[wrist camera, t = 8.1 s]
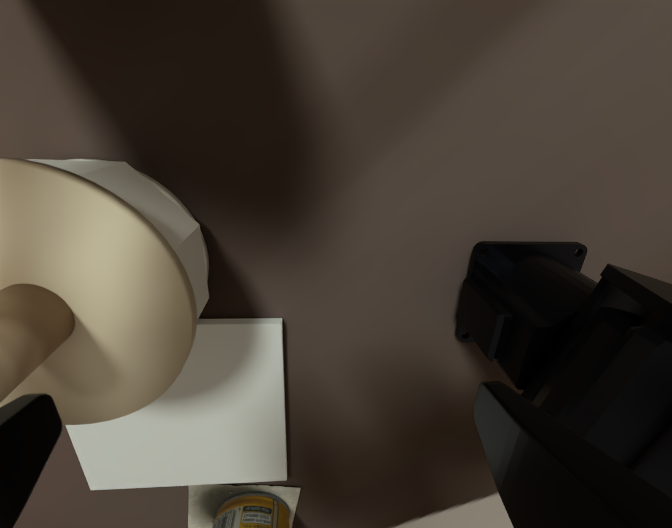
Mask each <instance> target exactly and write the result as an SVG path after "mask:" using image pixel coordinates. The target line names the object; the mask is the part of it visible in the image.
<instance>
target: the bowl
mask: <svg viewBox="0 0 672 528" xmlns="http://www.w3.org/2000/svg"><path fill="white" fill-rule="evenodd" d="M26 160H30V161H35V162H39V163H44V164H48V165H51V166H55V167H58V168H61V169H64V170H67V171H70V172H73V173H75V174H77V175H79V176H82V177H84V178H86V179H89V180H91V181H93V182H95V183H97V184H98V185H100V186H102V187H104V188H105V189H107V190H109V191H111V192H113V193H114V194H116V195H117V196H119V197H120V198H121V199H123V200H124V201H126V202H127V203H128V204H130V205H131V206H133V207H134V208H135V209H136V210H137V211H139V212H140V213H141V214H142V215H143V216H144V217H145V218H146V219H148V220H149V221H150V222H151V223H152V224H153V225H154V226H155V227H156V229H157V230H158V231H159V232H160V233H161V234H162V235H163V236H164V237H165V238H166V240H167V241H168V243H169V244H170V245H171V247H172V248H173V250H174V251H175V252H176V254H177V255H178V257H179V259H180V261H181V263H182V264H183V266H184V268H185V270H186V272H187V275H188V277H189V280H190V282H191V285H192V288H193V292H194V296H195V301H196V307H197V320H198V318H199V316H200V314H201V312H202V310H203V309H204V307H205V305H206V303H207V301H208V299H209V293H208V285H207V281H208V274H209V257H208V251H207V246H206V243H205V240H204V237H203V234H202V232H201V230H200V225H199V223H197V222H196V221H195V219H194V218H193V216H192V215H191V213H190V212H189V210H188V209H187V208H186V207H185V206H184V204H183V203H182V202H181V201H180V200H179V199H178V198H177V197H176V196H175V195H174V194H173V193H172V192H171V191H169V190H168V189H167V188H166V187H164V186H163V185H162V184H160V183H159V182H158V181H156V180H154V179H153V178H151V177H149V176H148V175H146V174H144V173H142V172H140V171H138V170H135V169H133V168H132V167H131V166H130V165H129V164H127V163H126V162H119V161H106V160H102V159H90V158H79V159H68V160H40V159H26Z"/></svg>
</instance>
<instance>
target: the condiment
mask: <svg viewBox="0 0 672 528" xmlns="http://www.w3.org/2000/svg"><path fill="white" fill-rule="evenodd" d="M300 489H301V488H293V487H282V486H273V487H272V486H268V485H258V486H256V485H241V486H232V485H221V484H208V485H189V513H188V514H189V517H188V528H292V524H293V520H294V515H295V511H296V506H297V502H298V498H299V494H300ZM229 492H232V493H231V494H229ZM211 521H214V523H212V522H211Z"/></svg>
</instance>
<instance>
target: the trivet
mask: <svg viewBox="0 0 672 528" xmlns="http://www.w3.org/2000/svg"><path fill="white" fill-rule="evenodd" d="M66 427H67V430H68V433H69V435H70V438H71V440H72V443H73V446H74V448H75V451H76V453H77V456H78V458H79V461H80V464H81V466H82V469H83V471H84V474H85V477H86V479H87V482H88V484H89V487H90V489H91V490H105V489H125V488H145V487H165V486H185V485H206V484H226V483H246V482H266V481H287V451H286V420H285V389H284V358H283V327H282V318H246V319H198V320H197V329H196V336H195V340H194V343H193V347H192V349H191V352H190V354H189V356H188V358H187V360H186V363H185V365H184V367H183V369H182V371H181V373H180V374H179V376H178V377H177V378H176V380H175V381H174V383H173V384H172V385H171V386H170V387H169V388H168V389H167V391H166V392H165V393H164V394H162V395H161V396H160V397H159V398H157V399H156V400H155V401H154V402H152V403H151V404H149V405H147V406H145V407H144V408H142V409H140V410H138V411H136V412H134V413H131V414H129V415H127V416H124V417H120V418H117V419H114V420H110V421H105V422H99V423H94V424H82V425H66Z"/></svg>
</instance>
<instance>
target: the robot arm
mask: <svg viewBox="0 0 672 528" xmlns="http://www.w3.org/2000/svg"><path fill="white" fill-rule="evenodd" d="M484 248H486V251H485V252H484V253H483V254H480V252H481V250H482V249H484ZM577 249H578V251H577V252H576V253H575V254H574V252H575V251H576V250H577ZM586 254H587V247H586V246H585V245H583V244H581V243H578V242H500V241H483V242H479V243H477V244H476V245H475V246H474V248H473V251H472V256H471V261H470V266H469V270H468V275H467V277H466V278H465V280H464V282H463V287H462V291H461V296H460V301H459V306H458V311H457V317H458V323H457V328H456V336H457V337H458V339H459V340H460V341H462V342H476V343H477V345H478V346H479V348H480V349H481V350H482V352H483V353H484V355H485V356H486V357H487V358H488V359H489V360H490V361H497V363H498V364H499V365H500V367H501V368H502V369H503V371H504V372H505V373H506V375H507V376H508V377H509V379H510V380H511V381H512V383H513V384H514V385H515V387H516V388H517V389H520V390H524V391H523V393H522V394H521V395H520V394H518V393H517V392H515V391H514V390H512V389H511V388H509V387H508V386H506V385H505V384H503V383H502V382H498V381H491V382H482V383H481V384H480V385H479V388H478V392H477V396H476V400H475V405H474V409H473V416H474V421H475V424H476V427H477V430H478V433H479V436H480V439H481V442H482V445H483V448H484V451H485V454H486V457H487V460H488V463H489V466H490V469H491V472H492V475H493V478H494V481H495V484H496V486H497V489H498V492H499V494H500V497H501V499H502V502H503V504H504V506H505V509H506V511H507V513H508V515H509V518H510V520H511V522H512V524H513V527H514V528H672V284H670V283H666V282H663V281H660V280H657V279H654V278H651V277H648V276H645V275H642V274H639V273H636V272H633V271H630V270H627V269H623V268H620V267H617V266H614V265H611V264H607V266H606V267H605V269H604V270H603V271H602V273H601V274H600V275H601V276H602V278H601V279H600V281H599V282H598V283H597V282H595V281H593V280H592V279H590V278H588V277H587V276H585V275H583V274H582V273H580V271H581V268H582V265H583V262H584V259H585V256H586ZM464 332H467V333H466V334H465V335H462V334H463V333H464ZM62 426H63V425H62V420H61V417H60V415H59V412H58V410H57V407H56V405H55V402H54V400H53V398H52V396H51V395H49V394H46V393H34V394H25V395H22V396H20V397H18V398H16V399H15V400H13V401H11V402H9V403H7V404H5V405H3V406H2V407H0V528H13V526H14V525H15V523H16V521H17V520H18V518H19V516H20V514H21V512H22V510H23V509H24V507H25V505H26V503H27V501H28V499H29V497H30V495H31V493H32V491H33V489H34V487H35V485H36V483H37V481H38V479H39V477H40V475H41V473H42V471H43V469H44V467H45V465H46V463H47V461H48V459H49V457H50V455H51V453H52V451H53V449H54V447H55V445H56V443H57V441H58V439H59V437H60V435H61V432H62Z"/></svg>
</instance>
